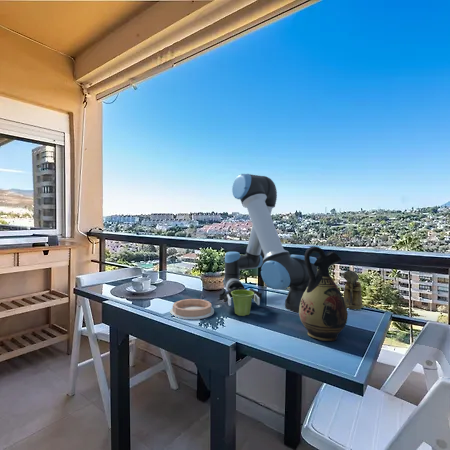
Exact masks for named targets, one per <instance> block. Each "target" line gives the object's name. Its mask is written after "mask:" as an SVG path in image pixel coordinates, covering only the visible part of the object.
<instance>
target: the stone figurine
mask: <svg viewBox="0 0 450 450" xmlns="http://www.w3.org/2000/svg"><path fill="white" fill-rule="evenodd" d="M342 275H343V278H344V280H345V284H344V291H343V298H344V301H345V304H346V308H349V309H348V310H351V309H361V308H363V309H364V304H363V298H362V291H363V290H362V283H361V282H359V275H358V274H357V272H355V271H353V270H351V269H349V270H346V271H344V272H343V274H342Z"/></svg>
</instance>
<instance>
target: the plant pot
mask: <svg viewBox="0 0 450 450" xmlns="http://www.w3.org/2000/svg"><path fill="white" fill-rule="evenodd" d="M231 294H232V297H231V298H232V300H233V301H232V302H233V307H234V308H233V309H234V314H236V316H239V317H241V316H242V317H245V316H249V315H250V314H251V307H252V301H253V299H252V298H253V295H254V292H252V291H249V289H247V290H234V291H232V292H231Z"/></svg>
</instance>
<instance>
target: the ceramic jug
mask: <svg viewBox="0 0 450 450" xmlns="http://www.w3.org/2000/svg"><path fill="white" fill-rule="evenodd" d="M304 252H305V253H304V255H303V256H304V259H305V263H306V267H307V270H308V273H309V277H310V280H309V284H308V287H307V289H306V290H305V292H304V294H303V296H302V298H301V302H300V306H299V312H298V315H299V320H300V322H301V323H302V325H303V326H304V328H305V329H306V331H307V336H308V337H310V338H313V339H315V340H316V339H317V340H319V341H323V342H335V341H337V339H338V336H339V335H340V333H341V332H342V331H343V329H344V328H345V326H346V325H347V323H348V316H349V314H348V309H347V308H346V304H345V301H344V298H343V297H344V295H343V294H342V292H341V290H340V289H339V287H338V285H337V283H335V281H334V280H333V278H332V276H331V275H330V271H329V268H330V267H331V266H333V265H335V264H337V263H341V262H342V258H341V257H340V256H339V255H338V253H336V252H334V251H328V252H327V253H325V251H324V249H323V248H320V247H318V246H309V248H307V249H306V250H305V251H304ZM316 253H317V254H319V257H318V258H316V259H317V260H316V261H315V263H314V265H315V266H318V270H317V274H316V276H315V274H314V272H313V269H312V266H311V263H310V257H311V255H312V254H316Z"/></svg>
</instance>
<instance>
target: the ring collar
mask: <svg viewBox="0 0 450 450" xmlns="http://www.w3.org/2000/svg"><path fill="white" fill-rule="evenodd" d="M170 313H171V314H172V315H174V316H176V317H179V318H178V319H180V318H183V319H182V320H188V319H193V320H202V319H206V318H209V317H211V316H212V315H214V313H215V309H214V307H212V302H210V301H208V300H206V299H201V298H188V299H187V298H186V299H185V298H184V299H181V300H178V301H175V302H174V303H173V305H172V308H171V309H170V310H169V314H170ZM171 314H170V315H171ZM172 315H171V316H172ZM176 317H175V318H176Z"/></svg>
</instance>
